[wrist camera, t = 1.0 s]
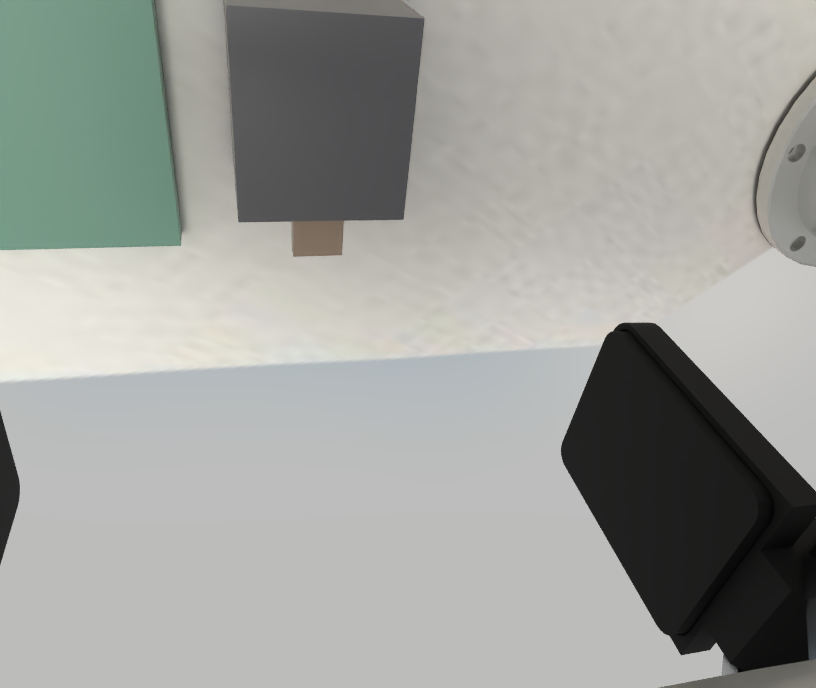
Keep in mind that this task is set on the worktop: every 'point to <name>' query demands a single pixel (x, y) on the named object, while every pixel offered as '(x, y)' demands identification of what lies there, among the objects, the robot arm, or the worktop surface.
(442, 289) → the worktop surface
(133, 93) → the header board
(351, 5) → the block
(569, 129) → the worktop surface
